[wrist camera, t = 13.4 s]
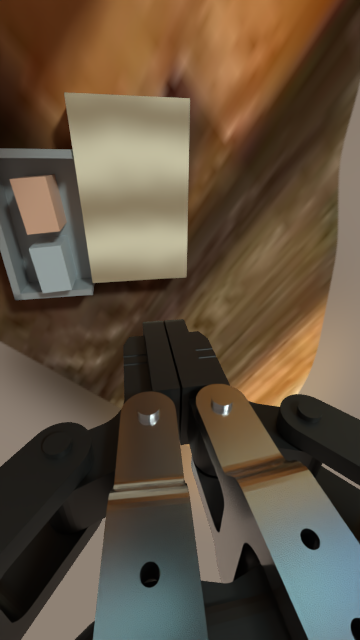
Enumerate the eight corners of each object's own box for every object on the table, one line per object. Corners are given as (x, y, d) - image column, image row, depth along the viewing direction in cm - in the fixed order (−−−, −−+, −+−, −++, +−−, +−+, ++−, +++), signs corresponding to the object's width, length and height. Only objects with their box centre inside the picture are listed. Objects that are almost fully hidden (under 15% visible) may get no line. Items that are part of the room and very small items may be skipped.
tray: (-12, 149, 23) (-31, 147, 20) (76, 150, 25) (70, 149, 22) (25, 285, 29) (15, 300, 26) (95, 281, 30) (92, 294, 27)
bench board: (69, 100, 23) (64, 92, 20) (182, 105, 24) (189, 98, 22) (94, 272, 30) (92, 283, 27) (180, 267, 32) (186, 277, 29)
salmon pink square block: (54, 174, 25) (24, 176, 24) (45, 176, 21) (9, 179, 21) (67, 222, 27) (38, 224, 26) (59, 231, 23) (27, 234, 23)
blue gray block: (67, 234, 27) (39, 237, 27) (60, 245, 24) (28, 248, 23) (77, 274, 29) (51, 277, 29) (71, 289, 26) (42, 293, 25)
